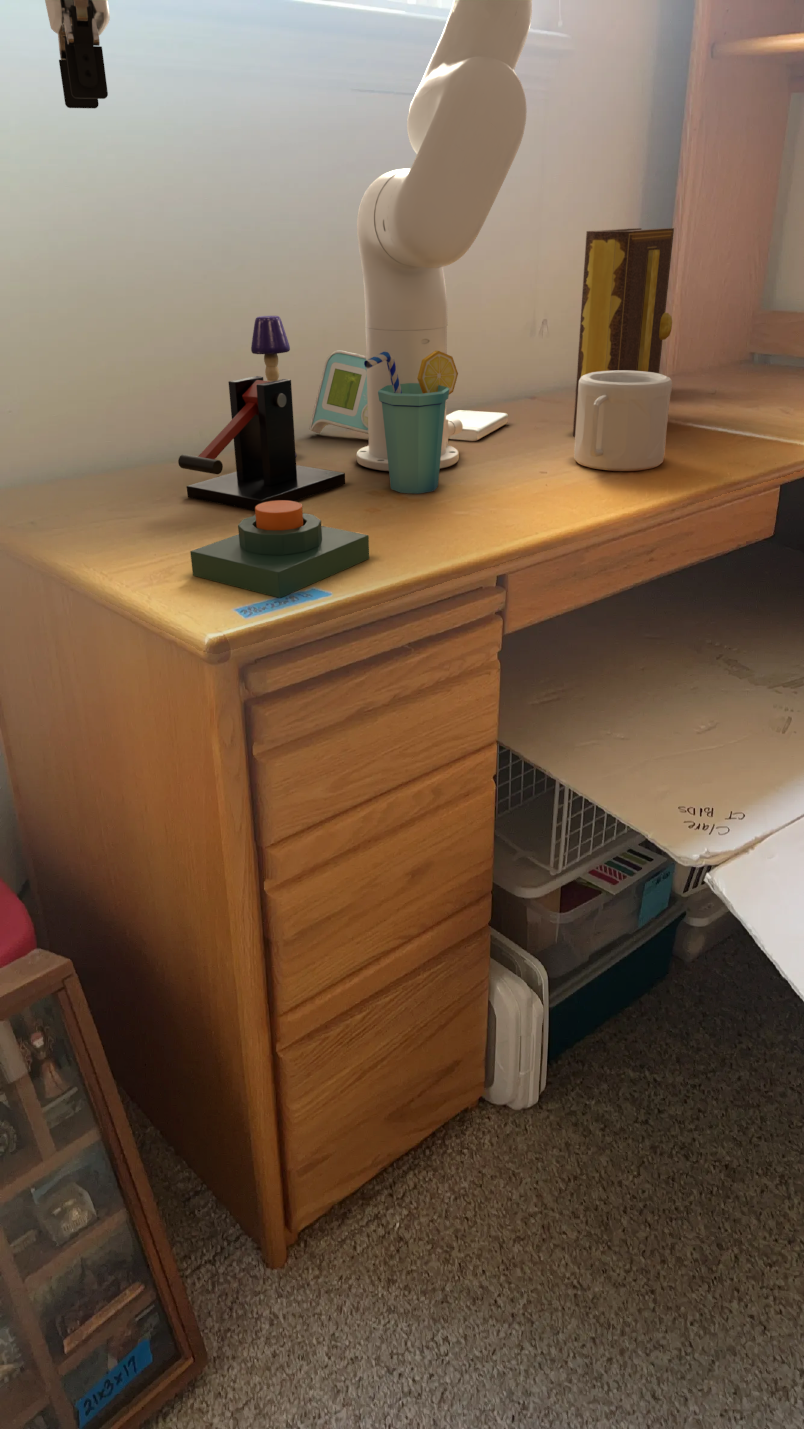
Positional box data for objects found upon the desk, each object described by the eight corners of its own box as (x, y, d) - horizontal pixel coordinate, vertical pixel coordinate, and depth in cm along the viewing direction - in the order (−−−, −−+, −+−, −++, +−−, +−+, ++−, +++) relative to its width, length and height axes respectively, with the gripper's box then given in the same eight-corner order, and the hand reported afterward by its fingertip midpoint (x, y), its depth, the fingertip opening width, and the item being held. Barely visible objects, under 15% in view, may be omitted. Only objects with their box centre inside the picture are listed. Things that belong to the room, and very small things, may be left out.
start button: (278, 517, 87) (276, 497, 86) (312, 524, 85) (311, 504, 84) (246, 528, 84) (245, 508, 83) (282, 535, 82) (280, 515, 81)
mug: (596, 448, 126) (602, 367, 122) (676, 458, 121) (686, 373, 116) (547, 470, 117) (552, 382, 112) (633, 481, 111) (641, 389, 107)
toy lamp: (253, 460, 123) (241, 317, 116) (271, 452, 127) (260, 313, 119) (286, 463, 122) (277, 318, 114) (304, 455, 125) (295, 314, 118)
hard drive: (455, 409, 144) (421, 424, 134) (508, 412, 141) (478, 428, 131) (455, 421, 145) (421, 436, 135) (508, 424, 142) (477, 441, 132)
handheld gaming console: (401, 454, 129) (307, 429, 135) (410, 458, 132) (317, 433, 137) (423, 368, 127) (327, 346, 132) (432, 373, 129) (337, 351, 135)
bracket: (262, 512, 102) (252, 394, 96) (187, 497, 107) (174, 385, 102) (345, 484, 112) (341, 375, 106) (273, 471, 118) (266, 368, 112)
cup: (399, 508, 102) (397, 356, 96) (342, 497, 107) (336, 351, 100) (473, 481, 112) (476, 341, 105) (418, 472, 116) (418, 337, 110)
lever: (218, 481, 100) (208, 462, 98) (184, 474, 102) (173, 456, 101) (290, 401, 105) (281, 382, 104) (255, 397, 108) (247, 378, 106)
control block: (285, 540, 93) (282, 498, 91) (369, 558, 88) (368, 514, 86) (192, 575, 84) (187, 530, 83) (280, 598, 79) (276, 550, 77)
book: (621, 441, 130) (639, 231, 119) (560, 435, 134) (572, 231, 123) (667, 413, 147) (687, 227, 136) (612, 409, 151) (627, 227, 140)
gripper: (108, -151, 81) (136, 94, 88) (91, -95, 95) (116, 111, 103) (11, -160, 78) (49, 92, 86) (9, -102, 93) (41, 110, 101)
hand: (86, 103), depth 95 cm, fingers open, 9 cm apart
